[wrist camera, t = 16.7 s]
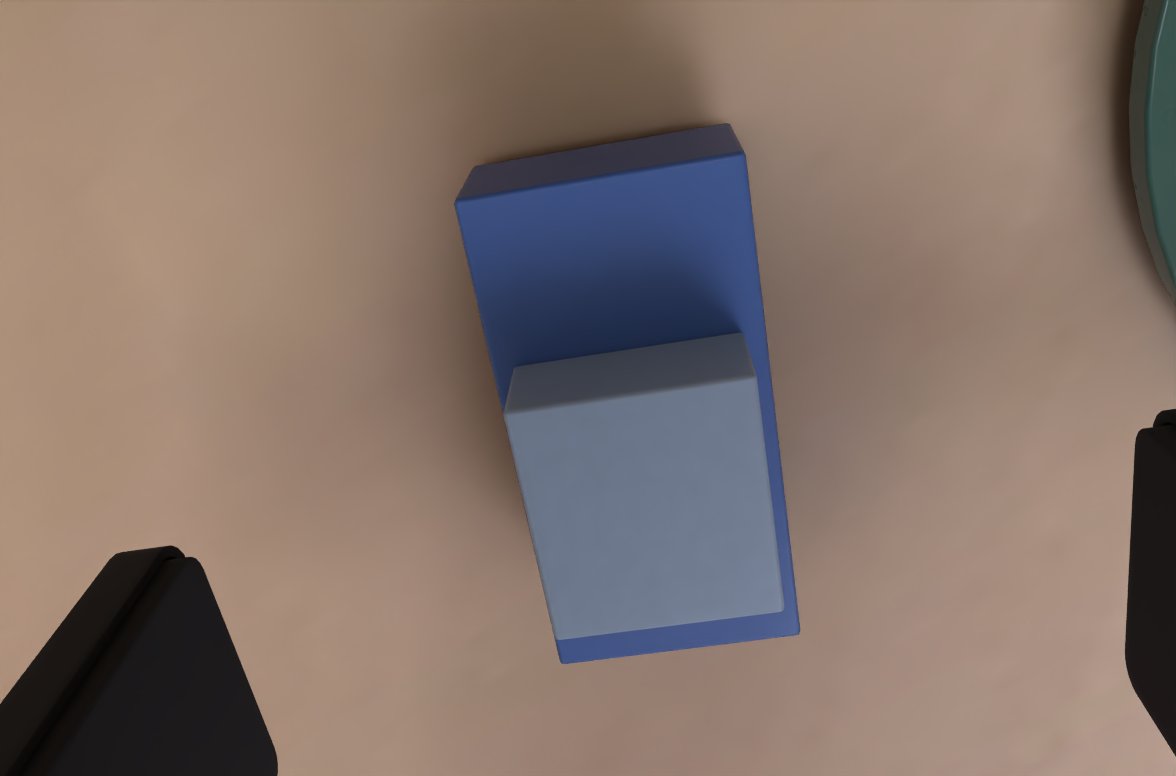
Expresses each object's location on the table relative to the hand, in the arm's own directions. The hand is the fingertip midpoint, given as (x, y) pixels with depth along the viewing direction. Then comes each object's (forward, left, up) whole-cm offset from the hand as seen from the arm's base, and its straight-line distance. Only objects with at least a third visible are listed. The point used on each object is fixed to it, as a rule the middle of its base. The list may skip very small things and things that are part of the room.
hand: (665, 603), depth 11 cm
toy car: (0, 0, -7) cm, 7 cm away
